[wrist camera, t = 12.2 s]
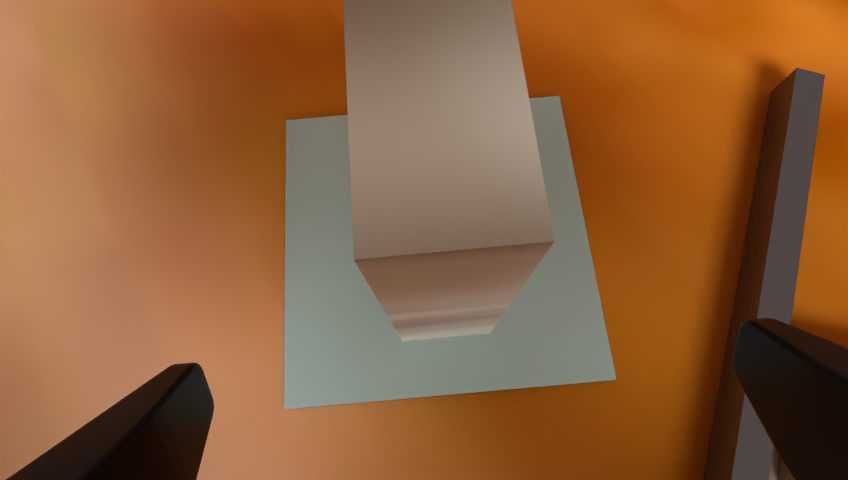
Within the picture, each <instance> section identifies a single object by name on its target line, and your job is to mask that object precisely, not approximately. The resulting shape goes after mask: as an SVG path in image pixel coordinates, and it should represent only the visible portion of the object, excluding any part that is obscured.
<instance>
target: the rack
mask: <svg viewBox="0 0 848 480" xmlns="http://www.w3.org/2000/svg"><path fill="white" fill-rule="evenodd" d="M824 77H825V75H823V74H819V73H815V72H811V71H807V70H803V69H800V68H796V69H795V70H794V71H793V72H792V73H791V74H790V75H789V76H788V77H787V78H786V79H784V80H783V81H782V82H781V83H780V84H779V85H778V86H777V87H776V88H775V89H774V90H773V91H772V92H771V97H770V103H769V108H768V114H767V120H766V125H765V131H764V137H763V143H762V148H761V154H760V160H759V165H758V171H757V177H756V182H755V188H754V194H753V200H752V205H751V211H750V217H749V222H748V228H747V234H746V239H745V245H744V251H743V257H742V262H741V268H740V274H739V279H738V285H737V291H736V297H735V302H734V308H733V314H732V319H731V325H730V331H729V336H728V342H727V348H726V354H725V359H724V365H723V371H722V376H721V382H720V388H719V393H718V399H717V405H716V411H715V416H714V422H713V428H712V433H711V439H710V445H709V451H708V456H707V462H706V468H705V473H704V479H703V480H769V475H770V468H771V461H772V454H773V446H774V445H773V444H772V442H771V440H770V438H769V436H768V434H767V433H766V431H765V429H764V427H763V425H762V423H761V421H760V420H759V418H758V416H757V414H756V412H755V410H754V409H753V407H752V405H751V403H750V401H749V399H748V397H747V396H746V394H745V392H744V390H743V388H742V386H741V385H740V383H739V381H738V379H737V377H736V375H735V373H734V370H733V366H732V358H733V354H734V350H735V346H736V342H737V338H738V334H739V330H740V327H741V325H742V323H743V322H744V321H746V320H749V319H761V318H773V319H776V320H779V321H781V322H784V323H786V324H789V325H790V323H791V316H792V309H793V302H794V294H795V287H796V280H797V273H798V266H799V258H800V251H801V244H802V237H803V229H804V222H805V215H806V208H807V200H808V193H809V186H810V179H811V171H812V164H813V157H814V150H815V142H816V135H817V128H818V121H819V114H820V106H821V99H822V92H823V85H824Z"/></svg>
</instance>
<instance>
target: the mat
mask: <svg viewBox="0 0 848 480" xmlns="http://www.w3.org/2000/svg"><path fill="white" fill-rule="evenodd" d="M529 101H530V107H531V112H532V118H533V123H534V129H535V134H536V140H537V145H538V151H539V156H540V162H541V167H542V173H543V178H544V184H545V190H546V195H547V201H548V206H549V212H550V217H551V223H552V228H553V234H554V239H555V242H554V243H553V245H552V246H551V247H550V249H549V250H548V252H547V253H546V254H545V256H544V257H543V259H542V260H541V262H540V263H539V264H538V266H537V267H536V269H535V270H534V271H533V273H532V274H531V276H530V277H529V279H528V280H527V281H526V283H525V284H524V286H523V287H522V288H521V290H520V291H519V293H518V294H517V296H516V297H515V298H514V300H513V301H512V303H511V304H510V305H509V307H508V308H507V310H506V311H505V313H504V314H503V315H502V317H501V318H500V320H499V321H498V322H497V324H496V325H495V327H494V328H493V330H492V331H491V332H490V333H489V334H478V335H467V336H456V337H445V338H434V339H423V340H412V341H402V340H401V338H400V337H399V335H398V333H397V332H396V330H395V328H394V327H393V325H392V323H391V321H390V320H389V318H388V316H387V315H386V313H385V311H384V310H383V308H382V306H381V305H380V303H379V301H378V300H377V298H376V296H375V295H374V293H373V291H372V289H371V288H370V286H369V284H368V283H367V281H366V279H365V278H364V276H363V274H362V273H361V271H360V269H359V268H358V266H357V264H356V263H355V261H354V253H353V229H352V206H351V182H350V159H349V135H348V115H339V116H327V117H316V118H305V119H294V120H286V187H285V333H284V409H295V408H306V407H317V406H329V405H340V404H351V403H362V402H374V401H385V400H396V399H408V398H419V397H430V396H441V395H453V394H464V393H475V392H486V391H498V390H509V389H520V388H532V387H543V386H554V385H565V384H577V383H588V382H599V381H611V380H616V375H615V370H614V365H613V360H612V355H611V350H610V345H609V340H608V335H607V330H606V325H605V320H604V315H603V310H602V305H601V300H600V295H599V290H598V285H597V280H596V276H595V271H594V266H593V261H592V256H591V251H590V246H589V241H588V236H587V231H586V226H585V221H584V216H583V211H582V206H581V201H580V196H579V191H578V186H577V181H576V176H575V171H574V166H573V161H572V156H571V152H570V147H569V142H568V137H567V132H566V127H565V122H564V117H563V112H562V107H561V102H560V97H559V96H550V97H539V98H529Z"/></svg>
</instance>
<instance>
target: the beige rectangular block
mask: <svg viewBox="0 0 848 480" xmlns="http://www.w3.org/2000/svg"><path fill="white" fill-rule="evenodd" d="M343 18H344V42H345V65H346V89H347V112H348V135H349V159H350V182H351V206H352V229H353V253H354V261H355V263H356V264H357V266H358V268H359V269H360V271H361V273H362V274H363V276H364V278H365V279H366V281H367V283H368V284H369V286H370V288H371V289H372V291H373V293H374V295H375V296H376V298H377V300H378V301H379V303H380V305H381V306H382V308H383V310H384V311H385V313H386V315H387V316H388V318H389V320H390V321H391V323H392V325H393V327H394V328H395V330H396V332H397V333H398V335H399V337H400V338H401V340H402V341H412V340H423V339H434V338H445V337H456V336H467V335H478V334H489V333H490V332H491V331H492V330H493V328H494V327H495V325H496V324H497V322H498V321H499V320H500V318H501V317H502V315H503V314H504V313H505V311H506V310H507V308H508V307H509V305H510V304H511V303H512V301H513V300H514V298H515V297H516V296H517V294H518V293H519V291H520V290H521V288H522V287H523V286H524V284H525V283H526V281H527V280H528V279H529V277H530V276H531V274H532V273H533V271H534V270H535V269H536V267H537V266H538V264H539V263H540V262H541V260H542V259H543V257H544V256H545V254H546V253H547V252H548V250H549V249H550V247H551V246H552V245H553V243H554V242H555V239H554V234H553V228H552V223H551V217H550V212H549V206H548V201H547V195H546V190H545V184H544V178H543V173H542V167H541V162H540V156H539V151H538V145H537V140H536V134H535V129H534V123H533V118H532V112H531V107H530V101H529V96H528V90H527V85H526V79H525V74H524V68H523V63H522V57H521V52H520V46H519V41H518V35H517V30H516V24H515V19H514V13H513V8H512V2H511V0H343Z"/></svg>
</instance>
